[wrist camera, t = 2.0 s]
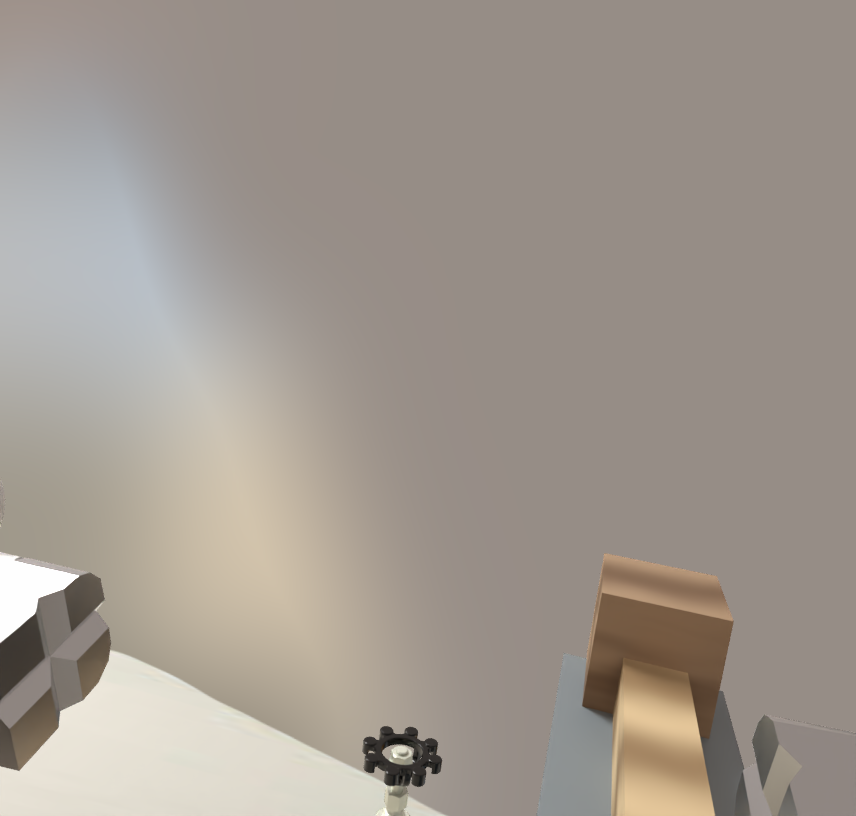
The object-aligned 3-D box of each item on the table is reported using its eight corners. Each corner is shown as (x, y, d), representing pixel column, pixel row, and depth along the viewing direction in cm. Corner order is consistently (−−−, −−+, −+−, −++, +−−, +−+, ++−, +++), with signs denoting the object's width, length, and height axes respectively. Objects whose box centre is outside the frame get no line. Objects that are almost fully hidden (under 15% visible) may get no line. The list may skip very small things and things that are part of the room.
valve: (361, 840, 64) (376, 716, 62) (432, 862, 62) (450, 736, 60) (333, 898, 57) (349, 762, 56) (412, 924, 56) (431, 786, 54)
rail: (800, 1170, 20) (856, 951, 19) (546, 1073, 21) (584, 868, 20) (696, 677, 47) (716, 576, 45) (587, 651, 48) (604, 553, 47)
